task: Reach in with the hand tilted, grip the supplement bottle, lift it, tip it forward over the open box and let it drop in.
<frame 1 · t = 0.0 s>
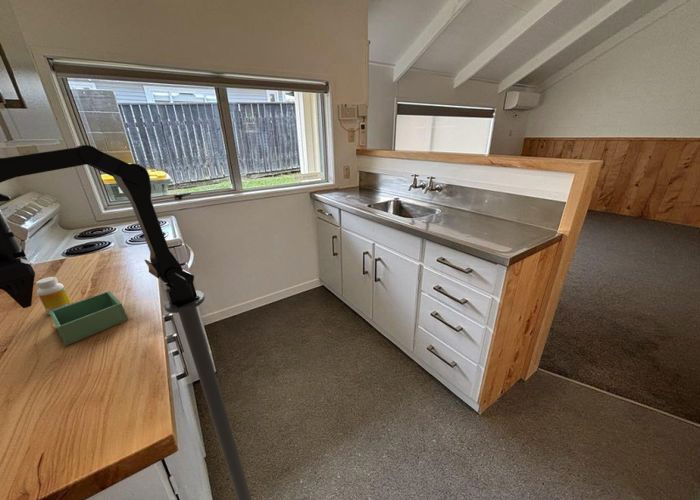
hand: (24, 300, 59), 14 cm above the counter, tool pointing down, fingers open, 9 cm apart
open box: (93, 323, 74), on the counter
supplement bottle: (61, 310, 81), on the counter
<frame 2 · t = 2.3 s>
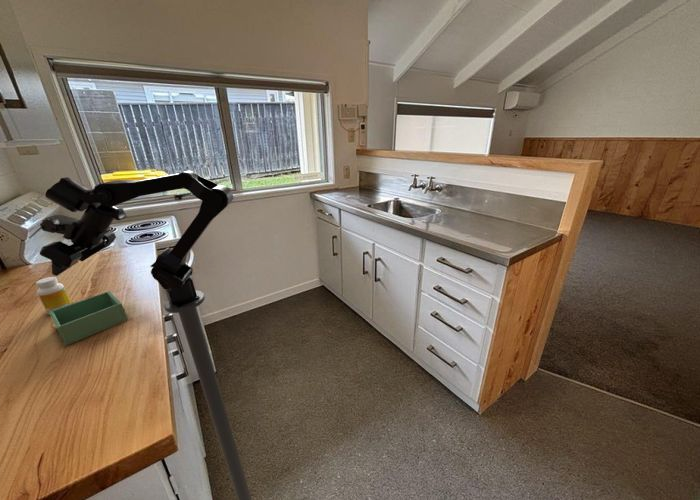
hand: (68, 267, 76), 13 cm above the counter, tool tilted 40°, fingers open, 9 cm apart
nothing on the counter moved.
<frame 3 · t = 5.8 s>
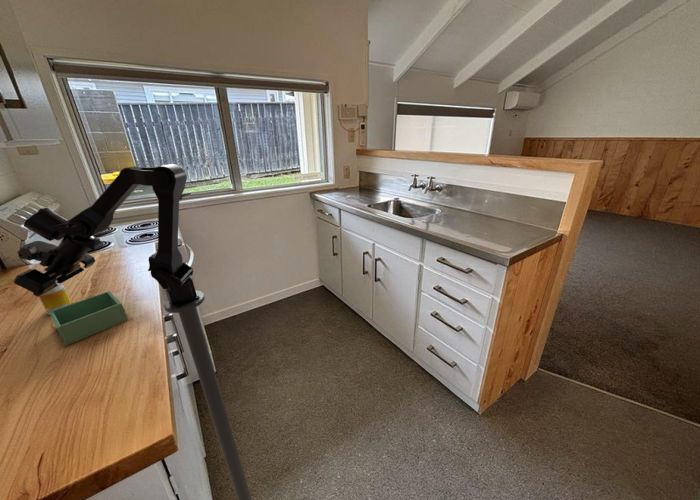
hand: (45, 290, 79), 7 cm above the counter, tool tilted 45°, fingers closed on supplement bottle, 5 cm apart
supplement bottle: (60, 310, 81), on the counter, touching gripper
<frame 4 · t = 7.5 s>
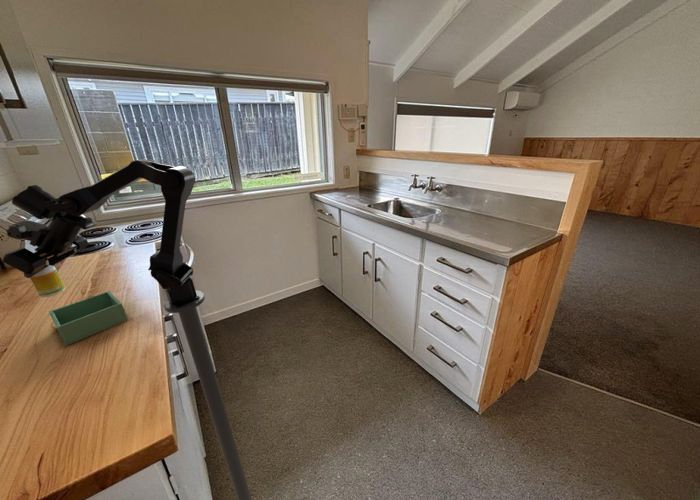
hand: (36, 272, 77), 12 cm above the counter, tool tilted 45°, fingers closed on supplement bottle, 5 cm apart
supplement bottle: (53, 293, 79), point 5 cm above the counter, touching gripper
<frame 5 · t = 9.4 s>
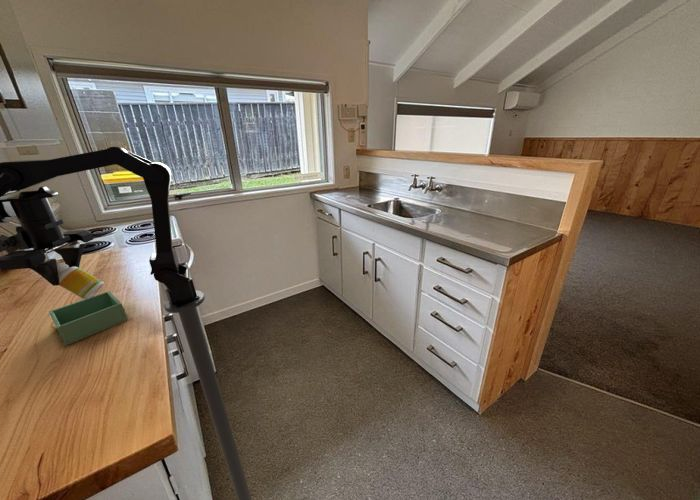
hand: (66, 279, 70), 13 cm above the counter, tool pointing down, fingers closed on supplement bottle, 5 cm apart
supplement bottle: (96, 291, 72), point 9 cm above the counter, touching gripper
when the fingers open (6 cm above the counter, at t = 11.8 s): supplement bottle moves 1 cm, resting on open box.
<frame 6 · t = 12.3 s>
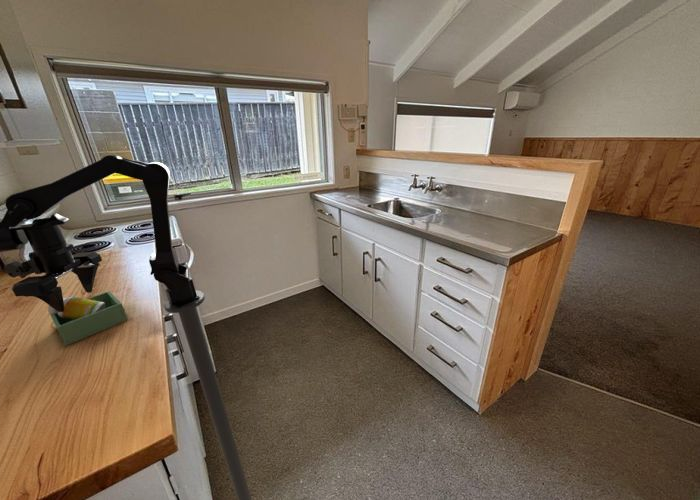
hand: (76, 301, 72), 7 cm above the counter, tool pointing down, fingers open, 9 cm apart
supplement bottle: (100, 312, 74), point 3 cm above the counter, touching open box
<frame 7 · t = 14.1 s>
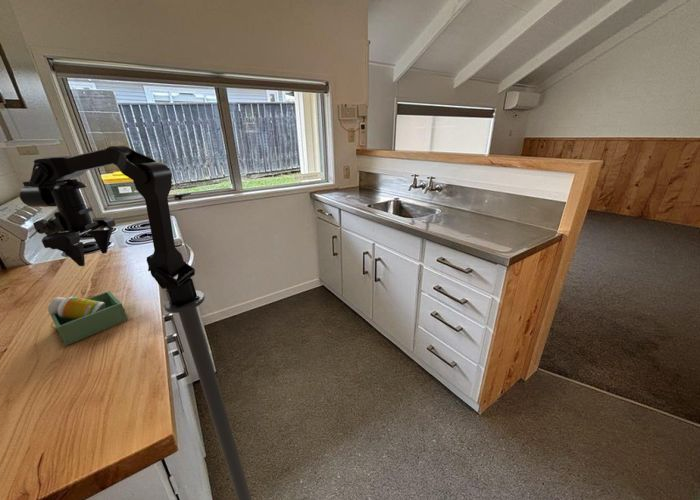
hand: (93, 259, 81), 13 cm above the counter, tool pointing down, fingers open, 9 cm apart
nothing on the counter moved.
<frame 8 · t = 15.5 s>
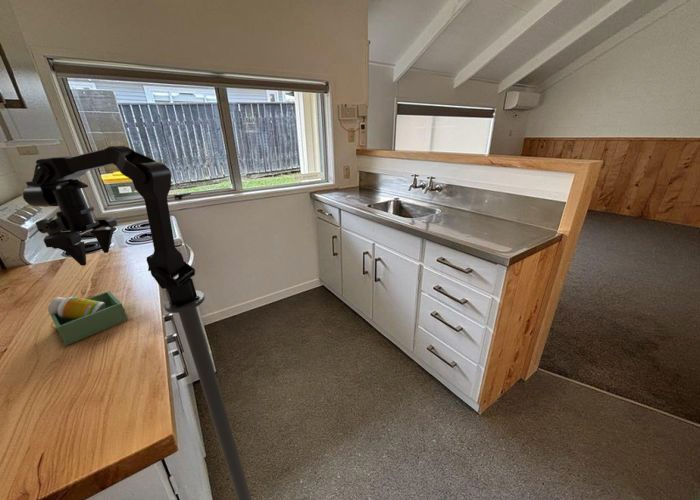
hand: (95, 258, 82), 13 cm above the counter, tool pointing down, fingers open, 9 cm apart
nothing on the counter moved.
at the end: supplement bottle inside the target area in the open box (2.8 cm from its centre), point 3.0 cm above the open box's base; the gripper is holding nothing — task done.
